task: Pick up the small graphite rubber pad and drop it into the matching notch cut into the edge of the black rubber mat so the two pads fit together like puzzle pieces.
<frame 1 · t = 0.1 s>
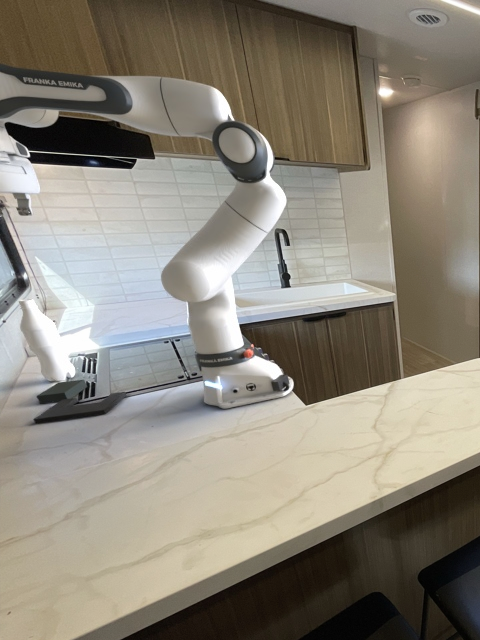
hand: (12, 216, 86), 48 cm above the countertop, tool pointing down, fingers open, 8 cm apart
notch mat: (84, 408, 107), on the countertop
water bottle: (62, 379, 127), on the countertop
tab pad: (64, 394, 115), on the countertop
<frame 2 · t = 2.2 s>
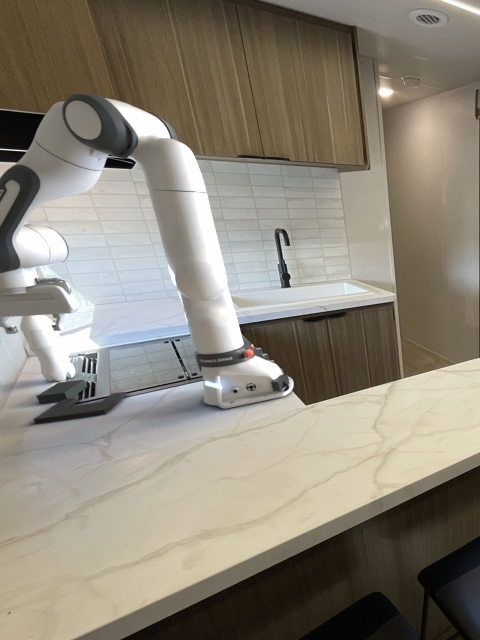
hand: (36, 331, 107), 19 cm above the countertop, tool pointing down, fingers open, 8 cm apart
nothing on the countertop moved.
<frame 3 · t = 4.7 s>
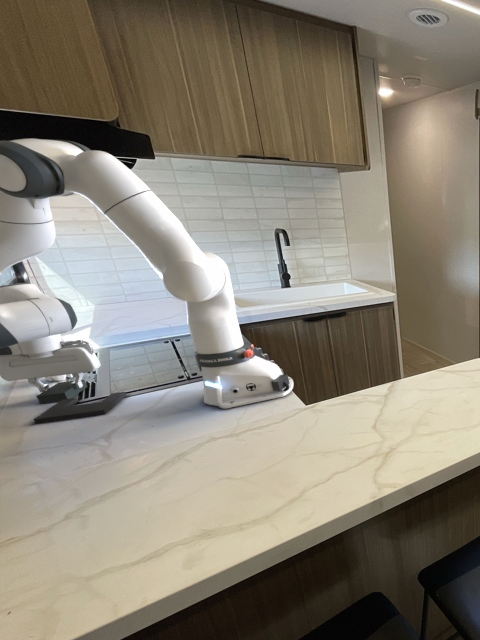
hand: (62, 389, 115), 2 cm above the countertop, tool pointing down, fingers closed on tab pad, 6 cm apart
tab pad: (64, 394, 115), on the countertop, touching gripper
everything else where it was.
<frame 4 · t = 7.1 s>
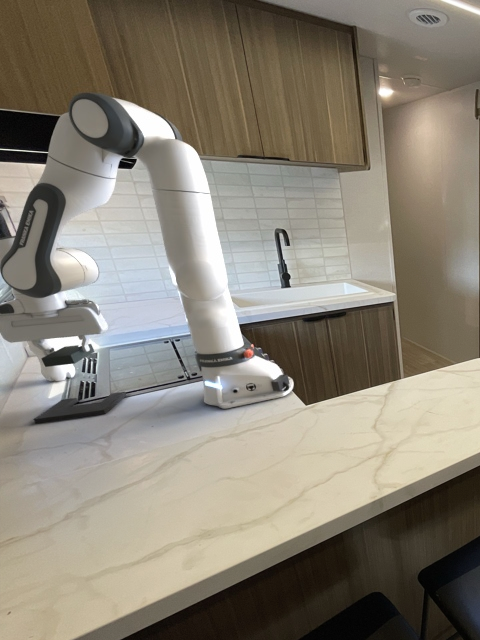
hand: (68, 353, 108), 14 cm above the countertop, tool pointing down, fingers closed on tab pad, 6 cm apart
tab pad: (71, 359, 109), point 12 cm above the countertop, touching gripper
everything else where it was.
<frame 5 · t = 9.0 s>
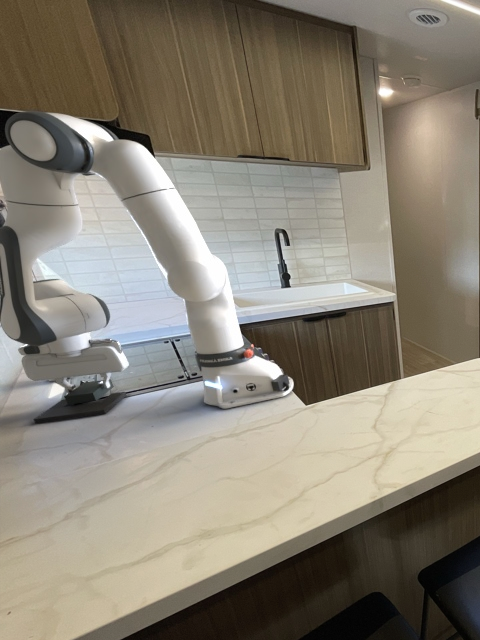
hand: (89, 389, 111), 3 cm above the countertop, tool pointing down, fingers closed on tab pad, 6 cm apart
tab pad: (91, 395, 111), point 2 cm above the countertop, touching gripper
everything else where it was.
when the fingers open (1 cm above the countertop, at t = 10.1 s): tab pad stays where it is, on the countertop.
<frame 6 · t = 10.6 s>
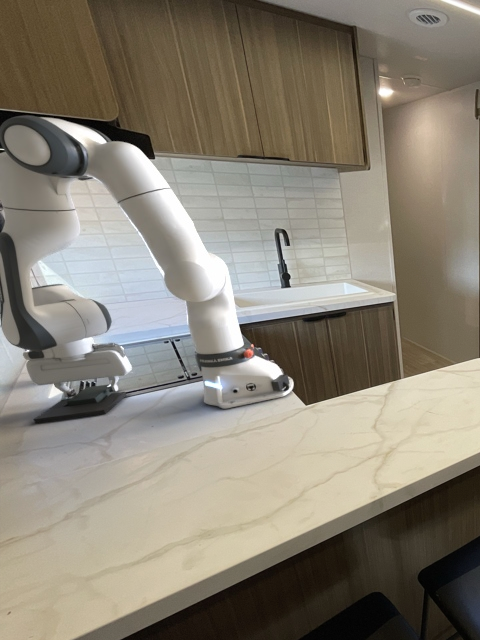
hand: (93, 393, 112), 2 cm above the countertop, tool pointing down, fingers open, 8 cm apart
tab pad: (94, 400, 112), on the countertop
everything else where it was.
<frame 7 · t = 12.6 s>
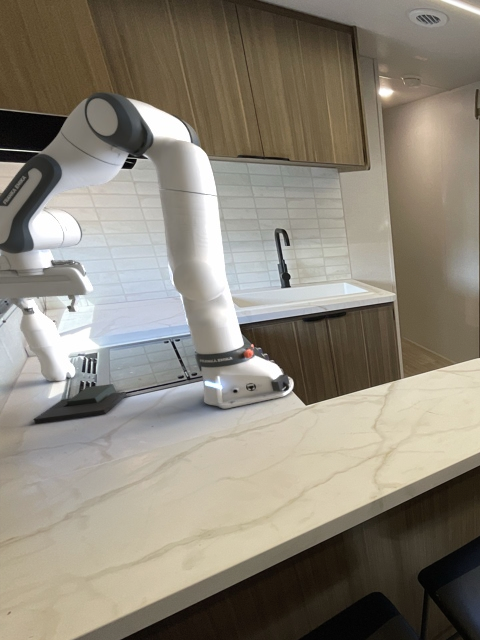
hand: (52, 312, 110), 23 cm above the countertop, tool pointing down, fingers open, 8 cm apart
nothing on the countertop moved.
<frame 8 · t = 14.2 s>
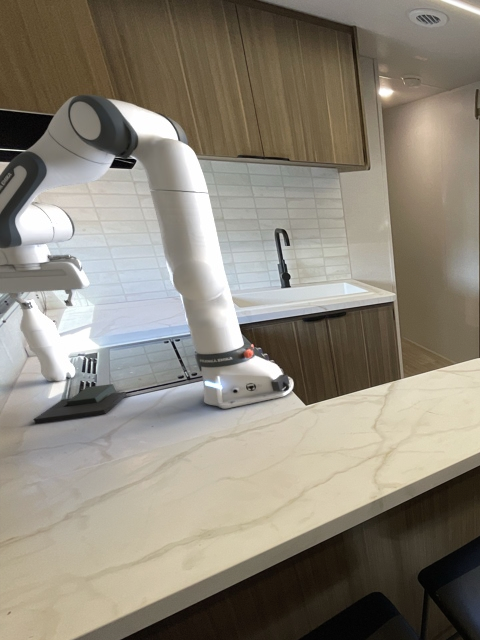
hand: (50, 307, 112), 24 cm above the countertop, tool pointing down, fingers open, 8 cm apart
nothing on the countertop moved.
at the end: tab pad 0.3 cm from the target spot on the notch mat, point 0.0 cm above the notch mat's base; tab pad tilted 0°; the gripper is holding nothing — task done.
